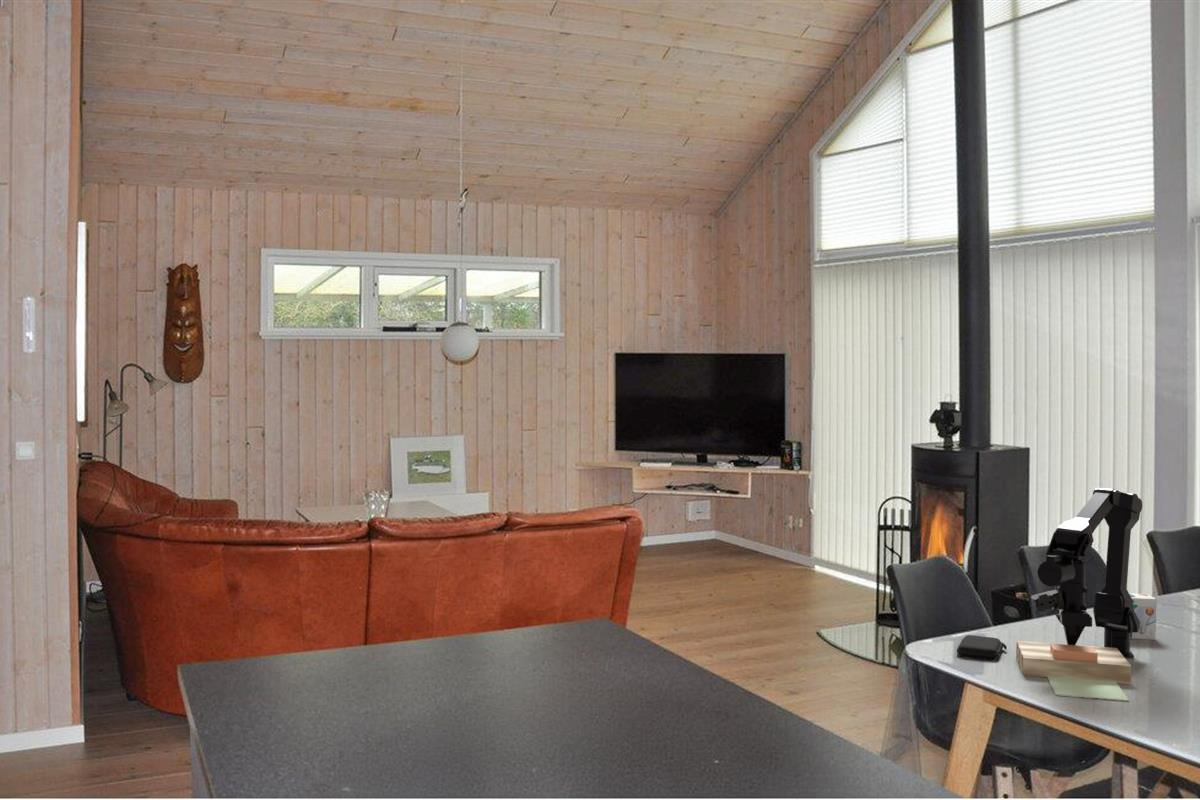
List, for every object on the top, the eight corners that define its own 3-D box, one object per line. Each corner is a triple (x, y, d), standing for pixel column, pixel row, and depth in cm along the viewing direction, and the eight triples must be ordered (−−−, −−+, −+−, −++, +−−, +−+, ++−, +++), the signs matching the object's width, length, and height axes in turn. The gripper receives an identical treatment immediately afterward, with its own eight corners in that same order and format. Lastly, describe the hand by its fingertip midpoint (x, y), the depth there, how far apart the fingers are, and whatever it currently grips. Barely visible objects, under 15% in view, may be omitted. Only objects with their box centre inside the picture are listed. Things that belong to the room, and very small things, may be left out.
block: (1050, 652, 237) (1050, 643, 237) (1092, 655, 234) (1093, 646, 234) (1053, 658, 231) (1053, 649, 231) (1097, 662, 229) (1097, 653, 229)
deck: (1016, 657, 247) (1016, 640, 247) (1116, 664, 241) (1116, 648, 241) (1023, 675, 232) (1023, 657, 232) (1130, 683, 226) (1131, 666, 225)
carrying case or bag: (1002, 664, 242) (1008, 649, 256) (1002, 651, 242) (1008, 637, 256) (955, 658, 247) (963, 644, 260) (955, 646, 247) (963, 632, 260)
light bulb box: (1112, 638, 267) (1113, 597, 266) (1104, 632, 273) (1105, 591, 273) (1157, 640, 265) (1157, 598, 264) (1148, 633, 271) (1148, 593, 271)
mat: (1047, 677, 230) (1047, 675, 230) (1115, 682, 226) (1115, 681, 226) (1055, 695, 217) (1055, 693, 217) (1128, 701, 213) (1128, 700, 213)
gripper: (1029, 572, 247) (1028, 636, 248) (1038, 586, 230) (1037, 655, 230) (1080, 575, 244) (1078, 640, 244) (1093, 589, 226) (1091, 660, 227)
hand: (1070, 648), depth 236 cm, fingers closed
